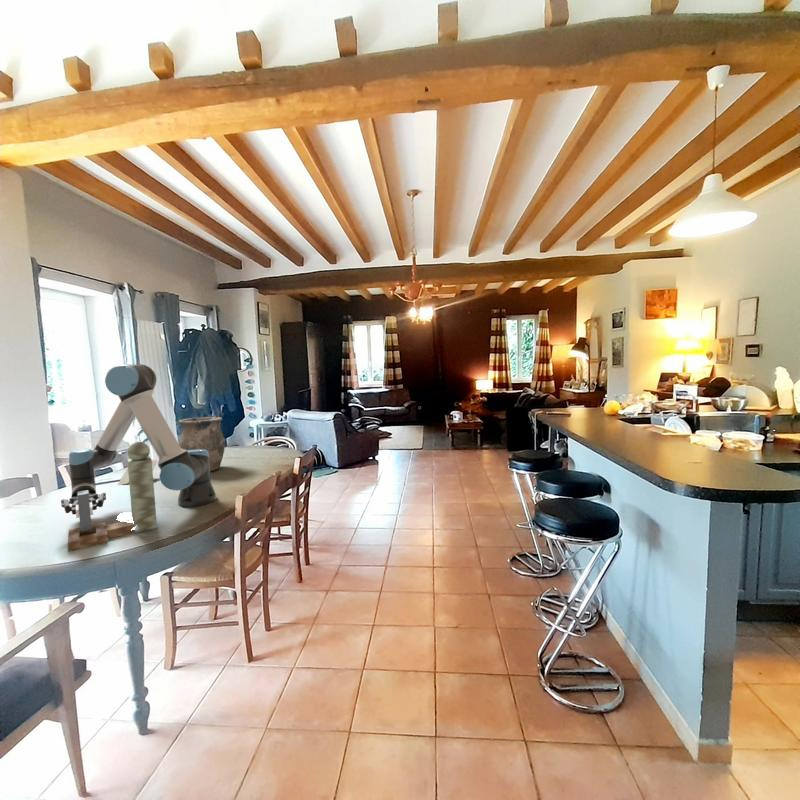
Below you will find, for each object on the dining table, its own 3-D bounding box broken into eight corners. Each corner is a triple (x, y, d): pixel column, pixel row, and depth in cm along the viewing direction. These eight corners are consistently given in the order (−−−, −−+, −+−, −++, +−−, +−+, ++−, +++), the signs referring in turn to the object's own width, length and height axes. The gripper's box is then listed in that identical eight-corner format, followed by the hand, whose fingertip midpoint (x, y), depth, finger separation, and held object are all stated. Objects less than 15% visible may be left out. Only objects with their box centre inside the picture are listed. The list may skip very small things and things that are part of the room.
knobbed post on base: (153, 519, 162) (146, 438, 159) (158, 530, 151) (151, 443, 148) (69, 537, 147) (60, 448, 143) (68, 551, 136) (58, 454, 132)
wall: (158, 487, 217) (164, 464, 227) (149, 479, 211) (156, 455, 221) (126, 494, 216) (133, 470, 226) (116, 485, 209) (124, 461, 220)
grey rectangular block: (91, 525, 147) (88, 489, 145) (91, 529, 143) (88, 493, 142) (80, 527, 145) (77, 491, 144) (80, 532, 141) (77, 495, 140)
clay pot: (234, 467, 240) (231, 416, 237) (197, 477, 220) (193, 422, 217) (210, 463, 251) (207, 414, 248) (173, 472, 231) (169, 419, 228)
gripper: (110, 499, 163) (114, 517, 144) (57, 509, 153) (54, 529, 134) (108, 481, 162) (112, 496, 143) (55, 489, 152) (52, 507, 133)
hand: (84, 512), depth 139 cm, fingers closed on grey rectangular block, 3 cm apart
